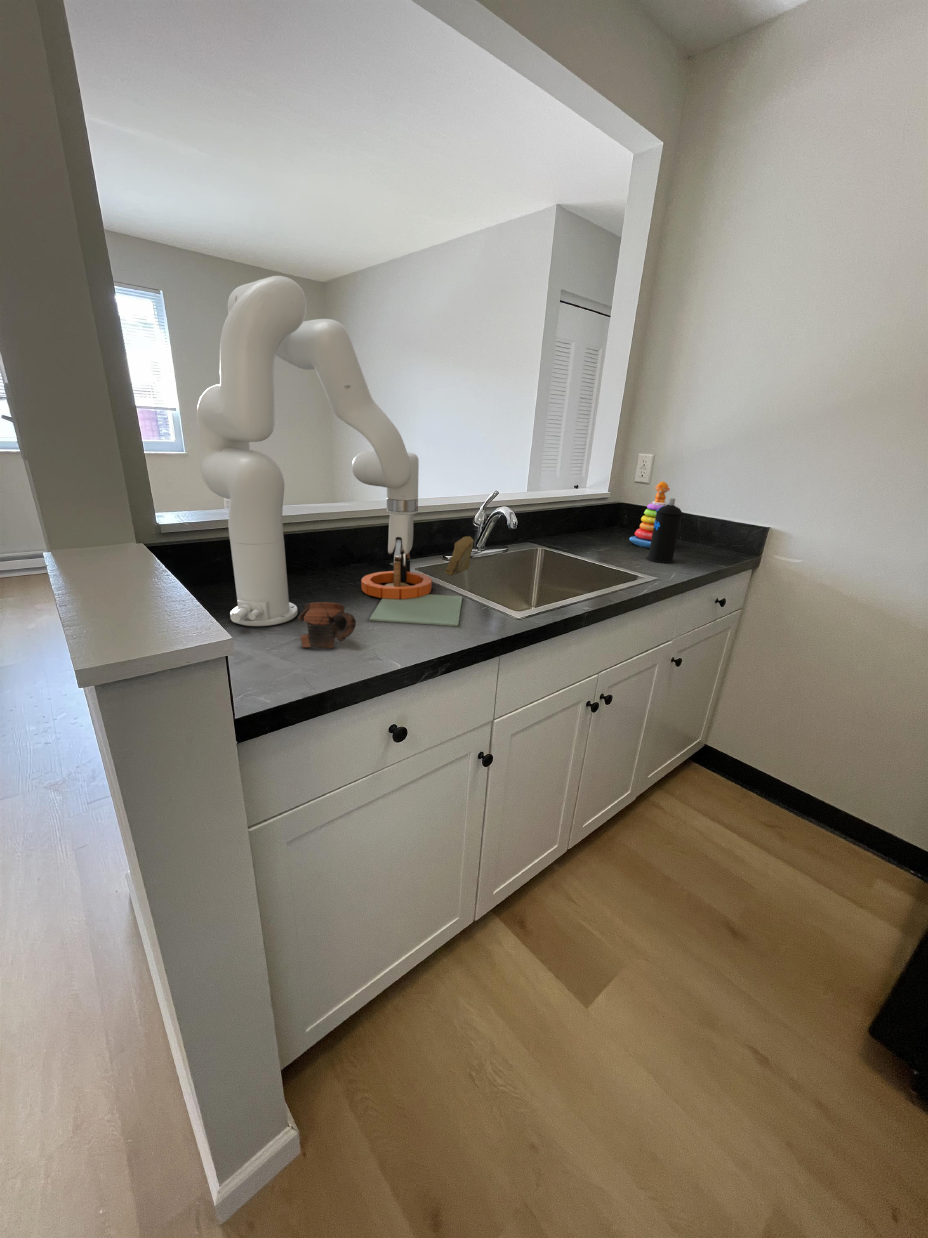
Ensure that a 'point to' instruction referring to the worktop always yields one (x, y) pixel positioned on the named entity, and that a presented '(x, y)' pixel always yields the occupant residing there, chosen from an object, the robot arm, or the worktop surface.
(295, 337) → the robot arm
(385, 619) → the mat
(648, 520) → the stacking toy
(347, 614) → the pottery mug
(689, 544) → the worktop surface
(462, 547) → the rock
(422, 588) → the ring
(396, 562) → the wooden peg disc
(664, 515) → the aerosol can
